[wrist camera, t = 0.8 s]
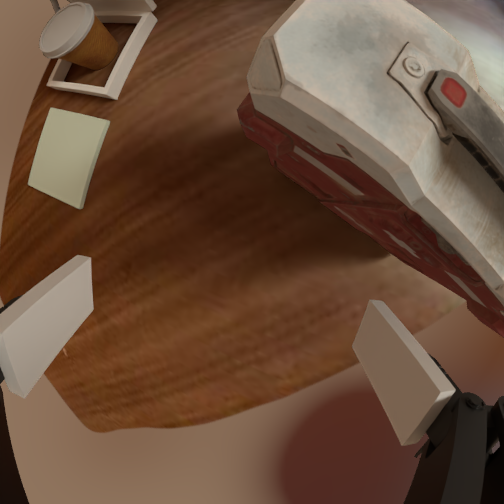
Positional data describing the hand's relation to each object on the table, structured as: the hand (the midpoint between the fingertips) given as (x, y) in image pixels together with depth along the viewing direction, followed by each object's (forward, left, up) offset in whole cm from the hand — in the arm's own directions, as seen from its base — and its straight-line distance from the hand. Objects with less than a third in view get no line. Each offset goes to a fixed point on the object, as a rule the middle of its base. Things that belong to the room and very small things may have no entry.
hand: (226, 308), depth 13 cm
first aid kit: (-10, +9, -26) cm, 29 cm away
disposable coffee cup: (-19, -35, -26) cm, 48 cm away
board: (-1, -34, -26) cm, 43 cm away
